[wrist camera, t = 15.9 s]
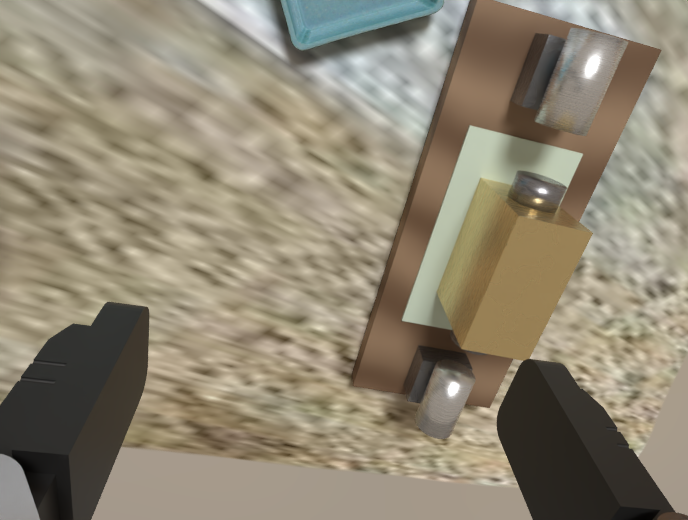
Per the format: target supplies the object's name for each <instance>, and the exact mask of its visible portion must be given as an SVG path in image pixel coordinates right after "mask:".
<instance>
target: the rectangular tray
mask: <svg viewBox="0 0 688 520" xmlns="http://www.w3.org/2000/svg"><path fill="white" fill-rule="evenodd" d="M280 1H281V4H282V8H283V12H284V15H285V19H286V22H287V26H288V30H289V34H290V38H291V42H292V44H293V45H294V47H295V48H297V49H298V50H300V51H304V50H307V49H311V48H314V47H318V46H321V45H324V44H327V43H330V42H333V41H337V40H340V39H343V38H347V37H351V36H354V35H357V34H360V33H364V32H368V31H371V30H375V29H379V28H383V27H386V26H390V25H393V24H397V23H401V22H405V21H408V20H412V19H416V18H420V17H423V16H427V15H431V14H434V13H436V12H437V11H439V10H440V9H441V8H442V7H443V4H444V0H280Z"/></svg>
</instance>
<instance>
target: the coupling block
mask: <svg viewBox="0 0 688 520" xmlns="http://www.w3.org/2000/svg"><path fill="white" fill-rule="evenodd" d="M566 189H567V187H566V186H565V185H563V184H562V183H560V182H558V181H555V180H553V179H551V178H548V177H545V176H543V175H539V174H536V173H532V172H528V171H521V170H520V171H517V173H516V175H515V178H514V180H513V183H512V185H509V184H505V183H501V182H497V181H493V180H489V179H485V178H480V180H479V183H478V185H477V188H476V191H475V193H474V196H473V198H472V201H471V204H470V206H469V209H468V211H467V214H466V217H465V219H464V222H463V224H462V227H461V230H460V232H459V235H458V237H457V240H456V243H455V245H454V248H453V251H452V253H451V256H450V258H449V261H448V264H447V266H446V269H445V271H444V274H443V277H442V279H441V282H440V284H439V287H438V290H437V294H438V297H439V299H440V301H441V304H442V306H443V308H444V311H445V313H446V315H447V317H448V320H449V322H450V324H451V327H452V330H451V333H450V337H451V340H452V341H453V342H454V343H455V344H456V345H457V346H458V347H460V348H461V349H463V350H465V351H467V352H469V353H472V354H476V355H487V354H491V355H496V356H501V357H507V358H512V359H518V360H523V361H524V360H526V359H529V358H530V356H531V354H532V352H533V350H534V348H535V346H536V344H537V342H538V340H539V338H540V336H541V334H542V332H543V330H544V329H545V327H546V325H547V323H548V321H549V319H550V317H551V315H552V313H553V311H554V309H555V307H556V305H557V303H558V301H559V299H560V297H561V295H562V293H563V291H564V289H565V287H566V285H567V283H568V281H569V279H570V277H571V275H572V273H573V271H574V269H575V267H576V266H577V264H578V262H579V260H580V258H581V256H582V254H583V252H584V250H585V248H586V246H587V244H588V242H589V240H590V238H591V236H592V234H593V233H592V232H591V231H590V230H588V229H587V228H586V227H585V226H583V225H582V224H581V223H580V222H578V221H577V220H576V219H575V218H573V217H572V216H571V215H570V214H568V213H567V212H566V211H565V210H563V209H562V208H561V207H560V206H559V204H560V202H561V200H562V198H563V196H564V194H565V192H566Z"/></svg>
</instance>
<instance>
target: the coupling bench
mask: <svg viewBox="0 0 688 520" xmlns="http://www.w3.org/2000/svg"><path fill="white" fill-rule="evenodd" d="M660 52H661V50H660V49H657V48H654V47H650V46H647V45H643V44H640V43H637V42H633V41H630V40H626V39H623V38H619V37H616V36H613V35H609V34H606V33H602V32H599V31H596V30H592V29H589V28H585V27H582V26H579V25H575V24H572V23H568V22H565V21H562V20H558V19H555V18H551V17H548V16H545V15H541V14H538V13H534V12H531V11H528V10H524V9H521V8H517V7H514V6H511V5H507V4H504V3H500V2H497V1H493V0H470V3H469V6H468V9H467V12H466V15H465V19H464V22H463V25H462V28H461V31H460V34H459V37H458V41H457V44H456V47H455V50H454V53H453V56H452V60H451V63H450V66H449V69H448V72H447V75H446V79H445V82H444V85H443V88H442V91H441V94H440V98H439V101H438V104H437V107H436V110H435V113H434V117H433V120H432V123H431V126H430V129H429V132H428V136H427V139H426V142H425V145H424V148H423V151H422V155H421V158H420V161H419V164H418V167H417V170H416V173H415V177H414V180H413V183H412V186H411V189H410V192H409V196H408V199H407V202H406V205H405V208H404V211H403V215H402V218H401V221H400V224H399V227H398V230H397V234H396V237H395V240H394V243H393V246H392V249H391V253H390V256H389V259H388V262H387V265H386V268H385V272H384V275H383V278H382V281H381V284H380V287H379V290H378V294H377V297H376V300H375V303H374V306H373V309H372V313H371V316H370V319H369V322H368V325H367V328H366V332H365V335H364V338H363V341H362V344H361V347H360V351H359V354H358V357H357V360H356V363H355V366H354V370H353V373H352V379H353V386H356V387H363V388H369V389H375V390H381V391H387V392H394V393H400V394H406V397H407V401H410V402H416V403H420V405H419V407H418V410H417V412H416V415H415V422H416V424H417V426H418V427H419V429H420V430H421V431H423V432H424V433H425V434H427V435H429V436H431V437H434V438H438V439H444V438H448V437H449V436H450V435H451V434H452V432H453V430H454V428H455V425H456V423H457V421H458V419H459V417H460V414H461V412H462V410H463V408H464V405H465V404H468V405H475V406H481V407H487V408H490V406H491V404H492V402H493V400H494V398H495V395H496V393H497V391H498V389H499V387H500V385H501V383H502V381H503V379H504V377H505V375H506V373H507V370H508V368H509V366H510V364H511V362H512V360H513V359H512V358H507V357H501V356H496V355H491V354H487V355H476V354H472V353H469V352H467V351H465V350H463V349H461V348H460V347H458V346H457V345H456V344H455V343H454V342H453V341H452V340H451V337H450V333H451V330H452V327H451V324H450V322H449V320H448V317H447V315H446V313H445V311H444V308H443V306H442V304H441V301H440V299H439V297H438V294H437V290H438V287H439V284H440V282H441V279H442V277H443V274H444V271H445V269H446V266H447V264H448V261H449V258H450V256H451V253H452V251H453V248H454V245H455V243H456V240H457V237H458V235H459V232H460V230H461V227H462V224H463V222H464V219H465V217H466V214H467V211H468V209H469V206H470V204H471V201H472V198H473V196H474V193H475V191H476V188H477V185H478V183H479V180H480V178H485V179H489V180H493V181H497V182H501V183H505V184H509V185H512V183H513V180H514V178H515V175H516V173H517V171H520V170H521V171H528V172H532V173H536V174H539V175H543V176H545V177H548V178H551V179H553V180H555V181H558V182H560V183H562V184H563V185H565V186H566V187H567V189H566V192H565V194H564V196H563V198H562V200H561V202H560V204H559V206H560V207H561V208H562V209H563V210H565V211H566V212H567V213H568V214H570V215H571V216H572V217H573V218H575V219H576V220H577V221H578V222H579V221H580V219H581V217H582V214H583V212H584V210H585V208H586V206H587V204H588V202H589V200H590V198H591V196H592V194H593V192H594V189H595V187H596V185H597V183H598V181H599V179H600V177H601V175H602V173H603V171H604V169H605V167H606V165H607V162H608V160H609V158H610V156H611V154H612V152H613V150H614V148H615V146H616V144H617V142H618V140H619V137H620V135H621V133H622V131H623V129H624V127H625V125H626V123H627V121H628V119H629V117H630V115H631V113H632V110H633V108H634V106H635V104H636V102H637V100H638V98H639V96H640V94H641V92H642V90H643V88H644V85H645V83H646V81H647V79H648V77H649V75H650V73H651V71H652V69H653V67H654V65H655V63H656V61H657V58H658V56H659V54H660Z"/></svg>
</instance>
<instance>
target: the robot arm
mask: <svg viewBox="0 0 688 520" xmlns="http://www.w3.org/2000/svg"><path fill="white" fill-rule="evenodd" d="M148 340H149V309H148V307H144V306H137V305H129V304H122V303H114V302H107V303H106V304H105V305H104V306H103V308H102V309H101V311H100V312H99V314H98V315H97V317H96V319H95V320H94V322H93V323H92V325H91V326H87V325H79V324H72V325H70V326H69V327H67V328H65V329H64V330H62V331H61V332H59V333H58V334H56V335H55V336H53V337H52V338H50V339H49V340H48V341H47V342H46V344H45V345H44V346H43V348H42V349H41V350H40V352H39V353H38V354H37V356H36V357H35V359H34V362H33V364H30V365H29V367H28V368H27V369H26V371H25V372H24V374H23V375H22V376H21V380H20V381H18V382H17V383H16V384H15V386H14V387H13V388H12V390H11V391H10V393H9V394H8V395H7V397H6V398H5V399H4V401H3V402H2V403H1V405H0V520H91V519H92V516H93V514H94V511H95V509H96V506H97V504H98V501H99V499H100V497H101V494H102V492H103V489H104V487H105V484H106V482H107V479H108V477H109V475H110V472H111V470H112V467H113V465H114V462H115V460H116V457H117V455H118V453H119V450H120V448H121V445H122V443H123V440H124V438H125V435H126V433H127V431H128V428H129V426H130V423H131V421H132V418H133V416H134V413H135V411H136V409H137V406H138V404H139V401H140V399H141V396H142V393H143V390H144V386H145V381H146V376H147V368H148ZM497 431H498V436H499V439H500V441H501V444H502V446H503V449H504V451H505V453H506V456H507V458H508V461H509V463H510V465H511V468H512V470H513V473H514V475H515V478H516V480H517V482H518V485H519V487H520V490H521V492H522V494H523V497H524V499H525V501H526V504H527V507H528V509H529V511H530V514H531V516H532V518H533V520H688V516H687V515H684V514H681V513H676V512H675V511H674V510H673V508H672V507H671V505H670V504H669V502H668V501H667V499H666V498H665V496H664V495H663V493H662V492H661V491H660V489H659V488H658V487H657V485H656V483H655V482H654V480H653V479H652V478H651V476H650V475H649V473H648V472H647V470H646V469H645V467H644V466H643V464H642V463H641V462H640V460H639V459H638V457H637V456H636V454H635V453H634V451H633V450H632V449H629V444H628V443H627V441H626V440H625V438H624V437H623V435H622V434H621V432H617V427H616V425H615V424H614V422H613V421H612V419H611V418H610V417H609V415H608V414H607V412H606V411H605V409H604V408H603V407H602V406H601V405H600V404H599V403H598V402H597V401H595V400H594V399H593V398H592V397H591V396H590V395H589V394H588V393H587V392H585V391H584V390H583V389H580V388H579V386H578V385H577V383H576V382H575V380H574V379H573V377H572V376H571V374H570V373H569V371H568V370H567V368H566V367H565V366H564V365H563V364H561V363H556V362H548V361H541V360H533V359H526V360H524V361H523V362H522V363H521V365H520V366H519V368H518V371H517V373H516V375H515V377H514V379H513V381H512V383H511V385H510V387H509V389H508V391H507V393H506V396H505V398H504V400H503V402H502V404H501V406H500V408H499V411H498V416H497Z"/></svg>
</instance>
